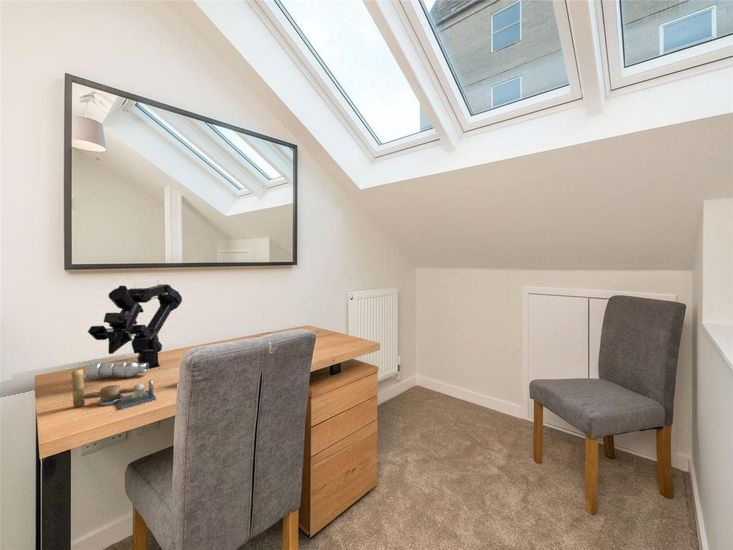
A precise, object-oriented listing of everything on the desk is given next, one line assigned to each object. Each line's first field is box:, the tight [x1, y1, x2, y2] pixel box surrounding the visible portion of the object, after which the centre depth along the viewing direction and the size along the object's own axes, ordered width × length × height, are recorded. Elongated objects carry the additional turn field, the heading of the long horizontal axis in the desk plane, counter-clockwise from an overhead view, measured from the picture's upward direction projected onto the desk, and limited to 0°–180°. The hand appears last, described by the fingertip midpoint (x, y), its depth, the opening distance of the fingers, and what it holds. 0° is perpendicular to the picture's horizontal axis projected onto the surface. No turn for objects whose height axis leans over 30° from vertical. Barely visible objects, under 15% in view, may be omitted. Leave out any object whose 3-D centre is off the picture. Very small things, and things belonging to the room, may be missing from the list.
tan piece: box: [71, 368, 145, 408], centre depth 106 cm, size 18×5×11 cm, turn 113°
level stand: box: [97, 380, 157, 410], centre depth 107 cm, size 14×12×5 cm
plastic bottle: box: [84, 359, 150, 381], centre depth 128 cm, size 6×7×20 cm
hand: (110, 353), depth 118 cm, fingers closed
